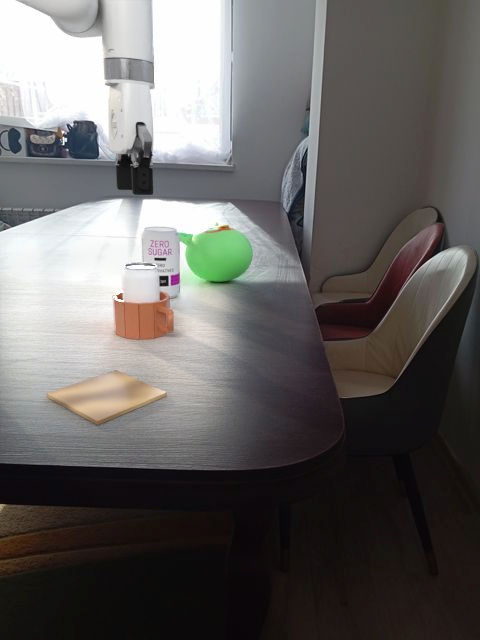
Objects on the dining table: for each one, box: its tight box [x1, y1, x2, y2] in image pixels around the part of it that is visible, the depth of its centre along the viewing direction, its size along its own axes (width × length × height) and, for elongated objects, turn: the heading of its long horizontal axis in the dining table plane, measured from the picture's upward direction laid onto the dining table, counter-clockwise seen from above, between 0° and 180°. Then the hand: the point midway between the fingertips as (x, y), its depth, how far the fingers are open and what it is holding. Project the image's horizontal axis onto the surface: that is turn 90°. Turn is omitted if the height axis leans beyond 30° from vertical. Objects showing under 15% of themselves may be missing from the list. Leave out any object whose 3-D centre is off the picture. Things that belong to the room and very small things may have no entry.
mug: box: [111, 291, 175, 340], centre depth 92 cm, size 13×10×6 cm
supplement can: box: [140, 226, 181, 300], centre depth 115 cm, size 8×8×15 cm
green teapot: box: [177, 221, 254, 283], centre depth 132 cm, size 18×17×15 cm
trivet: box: [46, 369, 168, 426], centre depth 68 cm, size 11×11×1 cm
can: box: [121, 261, 160, 303], centre depth 92 cm, size 6×6×12 cm
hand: (134, 192), depth 85 cm, fingers open, 9 cm apart
